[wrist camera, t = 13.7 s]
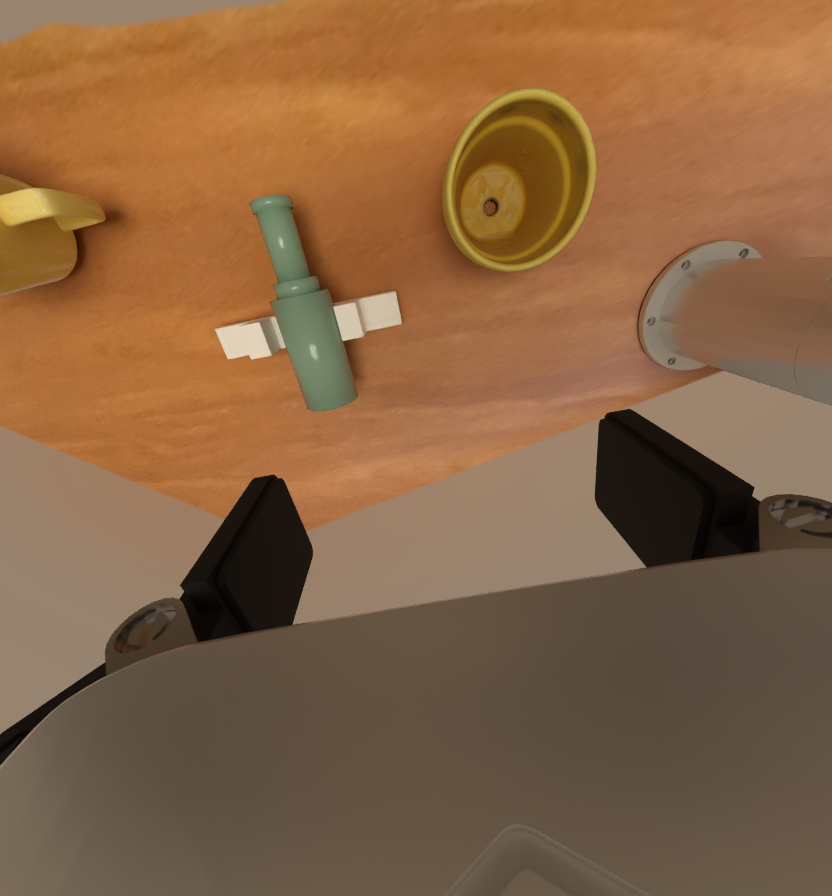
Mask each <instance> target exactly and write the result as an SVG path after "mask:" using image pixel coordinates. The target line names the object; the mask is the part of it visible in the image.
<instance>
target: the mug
mask: <svg viewBox="0 0 832 896" xmlns="http://www.w3.org/2000/svg"><path fill="white" fill-rule="evenodd" d="M103 221H105V214H104V211H103V209H102V208H101V206H100V205H99V203H98V202H97V201H96V200H94V199H93V198H90V197H87V196H84V195H79V194H76V193H70V192H66V191H60V190H54V189H47V188H34V187H32V186H30V185H28V184H26V183H24V182H22V181H20V180H17V179H14V178H11V177H9V176H6V175H3V174H0V296H4V295H7V294H11V293H14V292H18V291H21V290H25V289H29V288H32V287H36V286H40V285H44V284H48V283H52V282H56V281H59V280H61V279H63V278H65V277H66V276H68V275H69V273H70V272H71V271H72V270H73V268H74V266H75V263H76V261H77V244H76V239H75V236H74V233H73V231H72V230H75V229H79V228H82V227H86V226H90V225H94V224H97V223H101V222H103Z"/></svg>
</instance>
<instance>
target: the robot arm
mask: <svg viewBox="0 0 832 896" xmlns="http://www.w3.org/2000/svg"><path fill="white" fill-rule="evenodd" d="M638 328H639V338H640V342H641V345H642V347H643V349H644V351H645V353H646V354H647V355H648V356H649V357H650V359H651V360H652V361H654V362H656V363H657V364H659V365H661V366H663V367H666V368H668V369H673V370H678V371H689V370H694V369H700V368H702V367H705V366H708V365H709V366H712V367H715V368H718V369H721V370H724V371H727V372H730V373H733V374H736V375H739V376H742V377H746V378H748V379H751V380H754V381H757V382H760V383H763V384H767V385H770V386H773V387H776V388H779V389H782V390H785V391H788V392H791V393H794V394H797V395H800V396H803V397H806V398H809V399H812V400H815V401H819V402H822V403H825V404H828V405H831V406H832V257H800V258H763V257H762V255H761V254H760V252H758V251H757V250H756V249H755V248H753V247H752V246H751V245H748V244H746V243H743V242H740V241H732V240H726V241H715V242H710V243H705V244H702V245H700V246H697V247H695V248H692V249H690V250H689V251H687V252H686V253H684V254H682V255H681V256H679V257H678V258H677V259H675V260H674V261H673V262H672V263H671V264H669V265H668V266H667V267H666V268H665V270H664V271H663V272H662V273H661V274H660V275H659V276H658V277H657V279H656V280H655V282H654V283H653V285H652V286H651V288H650V289H649V291H648V293H647V295H646V297H645V299H644V302H643V305H642V308H641V311H640V317H639V324H638ZM753 490H754V487H753V486H752V485H750V484H749V483H747V482H745V481H744V480H742V479H741V478H739V477H737V476H736V475H734V474H733V473H731V472H729V471H728V470H726V469H725V468H723V467H722V466H720V465H718V464H717V463H715V462H714V461H712V460H710V459H709V458H707V457H706V456H704V455H703V454H701V453H699V452H698V451H696V450H695V449H693V448H692V447H690V446H688V445H687V444H685V443H684V442H682V441H680V440H679V439H677V438H675V437H674V436H672V435H671V434H669V433H668V432H666V431H665V430H663V429H661V428H659V427H658V426H657V425H655V424H653V423H652V422H650V421H649V420H647V419H645V418H644V417H642V416H641V415H639V414H638V413H636V412H634V411H633V410H631V409H626V410H621V411H616V412H610V413H607V414H606V416H605V418H604V419H601V420H600V422H599V432H598V449H597V466H596V484H595V501H596V504H597V506H598V508H599V509H600V510H601V512H602V513H603V514H604V515H605V517H606V518H607V519H608V520H609V521H610V523H611V524H612V525H613V526H614V528H615V529H616V530H617V531H618V533H619V534H620V535H621V536H622V537H623V539H624V540H625V541H626V542H627V544H628V545H629V546H630V547H631V549H632V550H633V551H634V552H635V554H637V556H638V557H639V559H640V560H641V561H642V562H643V563H644V565H645V566H646V567H647V568H640V569H634V570H628V571H621V572H615V573H608V574H602V575H596V576H589V577H584V578H577V579H570V580H564V581H557V582H551V583H544V584H538V585H532V586H525V587H519V588H513V589H507V590H501V591H494V592H488V593H482V594H476V595H470V596H464V597H457V598H451V599H445V600H439V601H433V602H427V603H420V604H414V605H409V606H402V607H397V608H390V609H385V610H378V611H372V612H366V613H360V614H354V615H349V616H343V617H337V618H331V619H325V620H319V621H313V622H307V623H301V624H295V625H292V624H293V621H294V617H295V614H296V610H297V607H298V604H299V601H300V597H301V593H302V590H303V587H304V584H305V581H306V577H307V574H308V571H309V567H310V564H311V560H312V557H313V549H312V545H311V543H310V540H309V538H308V536H307V533H306V531H305V528H304V526H303V524H302V521H301V519H300V517H299V514H298V512H297V510H296V507H295V505H294V503H293V500H292V498H291V496H290V493H289V491H288V489H287V486H286V484H285V482H284V480H283V479H282V478H279V479H278V478H277V477H276V476H275V475H269V476H263V477H258V478H254V479H253V480H252V481H251V482H250V484H249V485H248V487H247V488H246V490H245V491H244V493H243V494H242V496H241V497H240V498H239V500H238V501H237V503H236V504H235V506H234V507H233V509H232V510H231V512H230V513H229V515H228V516H227V517H226V519H225V520H224V522H223V523H222V525H221V526H220V528H219V529H218V531H217V532H216V534H215V535H214V536H213V538H212V539H211V541H210V542H209V544H208V545H207V547H206V548H205V550H204V551H203V553H202V554H201V555H200V557H199V559H198V560H197V561H196V563H195V564H194V566H193V567H192V569H191V570H190V571H189V573H188V575H187V576H186V577H185V579H184V580H183V582H182V583H181V585H180V586H181V587H182V589H183V590H184V593H183V595H182V596H181V598H180V599H177V598H164V599H161V600H158V601H155V602H152V603H150V604H148V605H146V606H144V607H142V608H141V609H139V610H138V611H137V612H135V613H134V614H132V615H131V616H129V617H128V618H127V619H126V620H125V621H124V622H123V623H122V624H121V625H120V626H119V627H118V628H117V629H116V630H115V631H114V633H113V634H112V635H111V637H110V639H109V641H108V642H107V645H106V649H105V663H104V664H102V665H101V666H99V667H98V668H96V669H95V670H93V671H92V672H90V673H89V674H87V675H86V676H84V677H83V678H82V679H80V680H79V681H77V682H76V683H74V684H73V685H71V686H70V687H68V688H67V689H65V690H64V691H62V692H61V693H60V694H58V695H57V696H55V697H54V698H52V699H51V700H49V701H48V702H46V703H45V704H43V705H42V706H41V707H39V708H38V709H36V710H35V711H33V712H32V713H31V714H29V715H27V716H26V717H25V718H23V719H22V720H20V721H19V722H17V723H16V724H14V725H13V726H11V727H10V728H9V729H7V730H6V731H4V732H3V733H2V734H0V896H832V503H831V502H828V501H825V500H823V499H818V498H814V497H809V496H802V495H793V494H782V495H774V496H770V497H766V498H765V499H763V500H762V501H761V502H760V501H759V500H757V499H756V498H754V497H753V496H752V494H753Z"/></svg>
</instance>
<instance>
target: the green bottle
mask: <svg viewBox="0 0 832 896" xmlns="http://www.w3.org/2000/svg"><path fill="white" fill-rule="evenodd" d="M249 204H250V207H251V210H252V213H253V215H256V217H257V220H258V223H259V226H260V229H261V232H262V235H263V238H264V241H265V244H266V247H267V250H268V253H269V256H270V259H271V262H272V265H273V268H274V271H275V274H276V277H277V280H278V284H274V285H273V287H274V290H275V293H276V295H277V298H278V299H277V300H273V301H270V304H271V307H272V309H273V312H274V315H275V318H276V321H277V324H278V326H279V329H280V332H281V335H282V338H283V341H284V343H285V346H286V349H287V352H288V355H289V358H290V361H291V363H292V366H293V369H294V372H295V375H296V378H297V380H298V383H299V386H300V389H301V392H302V395H303V397H304V400H305V403H306V406H307V409H308V410H310V411H327V410H332V409H336V408H339V407H342V406H344V405H347V404H349V403H351V402H352V401H354V400H355V399H356V398H357V397H358V392H357V389H356V385H355V381H354V378H353V374H352V371H351V367H350V363H349V360H348V356H347V352H346V349H345V345H344V342H343V341H342V337H341V334H340V330H339V327H338V323H337V319H336V316H335V312H334V308H333V307H334V305H333V302H332V298H331V294H330V291H329V289H323V290H321V288H320V285H319V281H318V278H317V276H311V274H310V271H309V267H308V264H307V261H306V257H305V254H304V250H303V247H302V244H301V240H300V237H299V233H298V230H297V226H296V223H295V220H294V216H293V213H292V209H293V204H292V200H291V197H290V196H289V195H271V196H265V197H261V198H257V199H254V200H252V201H250V203H249Z"/></svg>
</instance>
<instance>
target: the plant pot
mask: <svg viewBox="0 0 832 896" xmlns="http://www.w3.org/2000/svg"><path fill="white" fill-rule="evenodd" d="M596 174H597V161H596V151H595V145H594V142H593V138H592V135H591V132H590V130H589V127H588V125H587V123H586V121H585V119H584V118H583V116H582V115H581V114H580V112H579V111H578V110H577V109H576V107H575V106H574V105H573V104H572V103H571V102H569V101H568V100H567V99H565V98H564V97H562V96H561V95H559V94H557V93H555V92H552V91H549V90H546V89H540V88H524V89H518V90H514V91H511V92H508V93H506V94H504V95H502V96H500V97H498V98H496V99H495V100H493V101H492V102H490V103H489V104H487V105H486V106H485V107H484V108H483V109H481V110H480V111H479V112H478V113H477V114H476V115H475V116H474V117H473V119H472V120H471V121H470V122H469V124H468V125H467V126H466V128H465V129H464V131H463V132H462V134H461V135H460V137H459V139H458V141H457V143H456V145H455V147H454V149H453V151H452V153H451V156H450V158H449V161H448V164H447V168H446V171H445V176H444V181H443V189H442V206H443V213H444V218H445V222H446V225H447V228H448V231H449V233H450V235H451V237H452V239H453V241H454V243H455V244H456V246H457V247H458V248H459V249H460V251H461V252H462V253H463V254H464V255H465V256H466V257H468V258H469V259H470V260H471V261H473V262H475V263H476V264H478V265H480V266H482V267H485V268H488V269H492V270H496V271H503V272H517V271H523V270H527V269H531V268H533V267H536V266H538V265H540V264H542V263H544V262H546V261H548V260H549V259H551V258H552V257H553V256H555V255H556V254H557V253H559V252H560V251H561V250H562V249H563V248H564V247H565V246H566V245H567V244H568V243H569V241H570V240H571V239H572V238H573V237H574V235H575V234H576V232H577V231H578V229H579V227H580V226H581V224H582V222H583V220H584V218H585V216H586V214H587V212H588V209H589V207H590V204H591V200H592V197H593V193H594V189H595V182H596ZM488 200H494V201H495V202H496V204H497V210H496V212H495V213H494V214H493V215H491V216H488V215H486V214H485V213H484V204H485V203H486V201H488Z"/></svg>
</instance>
